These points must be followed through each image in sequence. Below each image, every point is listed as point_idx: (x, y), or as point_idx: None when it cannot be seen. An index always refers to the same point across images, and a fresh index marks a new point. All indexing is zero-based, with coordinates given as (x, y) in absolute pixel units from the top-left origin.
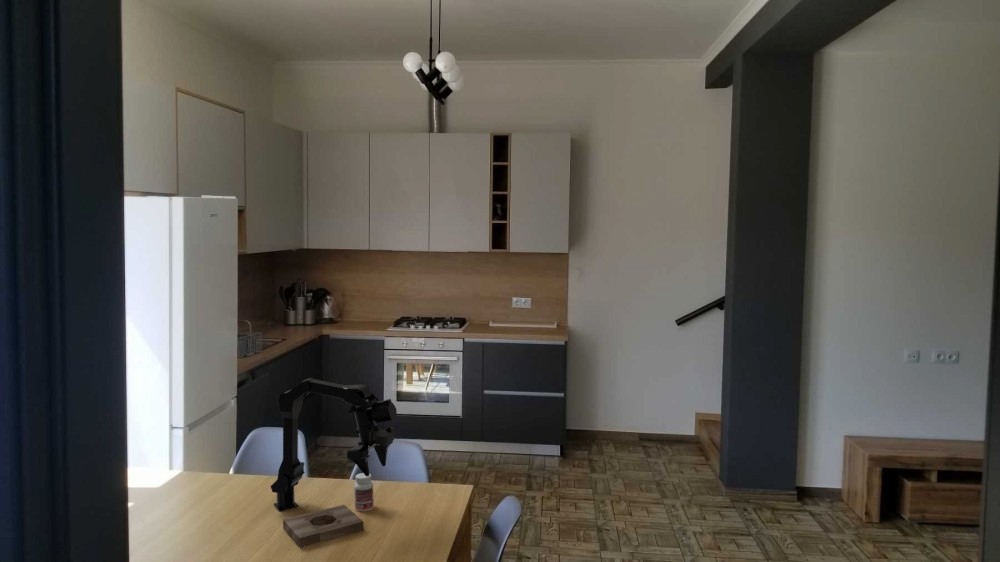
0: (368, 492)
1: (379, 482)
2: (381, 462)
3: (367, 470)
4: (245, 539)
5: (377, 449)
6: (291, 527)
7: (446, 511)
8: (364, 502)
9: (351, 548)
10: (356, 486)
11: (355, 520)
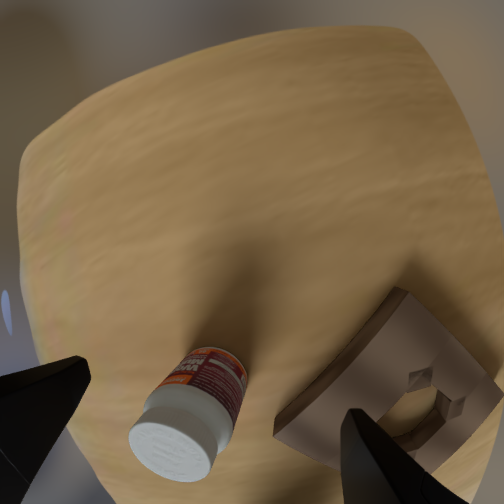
0: (211, 385)
1: None
2: (73, 399)
3: (394, 445)
4: None
5: (9, 481)
6: (451, 453)
7: (162, 90)
8: (236, 379)
9: (488, 257)
10: (223, 447)
11: (407, 327)
